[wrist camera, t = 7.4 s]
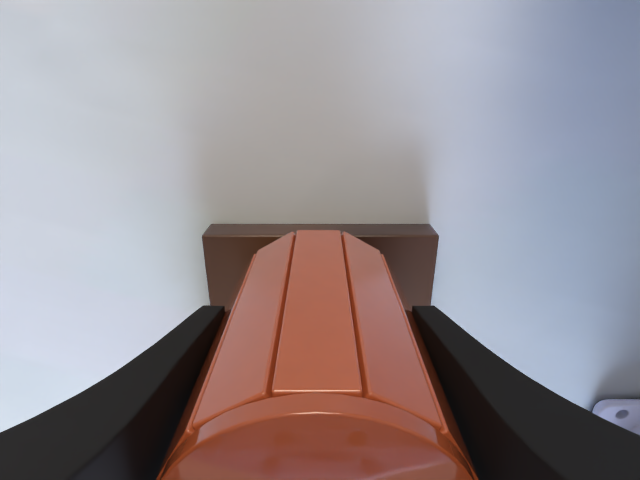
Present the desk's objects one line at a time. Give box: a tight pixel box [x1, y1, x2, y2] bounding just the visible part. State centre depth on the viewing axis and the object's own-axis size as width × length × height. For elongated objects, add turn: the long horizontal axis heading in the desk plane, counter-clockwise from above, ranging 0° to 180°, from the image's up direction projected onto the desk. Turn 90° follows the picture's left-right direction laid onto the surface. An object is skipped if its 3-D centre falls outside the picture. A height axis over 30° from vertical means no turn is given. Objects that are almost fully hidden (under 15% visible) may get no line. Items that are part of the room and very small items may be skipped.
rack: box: [202, 224, 439, 312], centre depth 14 cm, size 8×14×7 cm, turn 0°
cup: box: [156, 230, 478, 480], centre depth 9 cm, size 5×5×7 cm
